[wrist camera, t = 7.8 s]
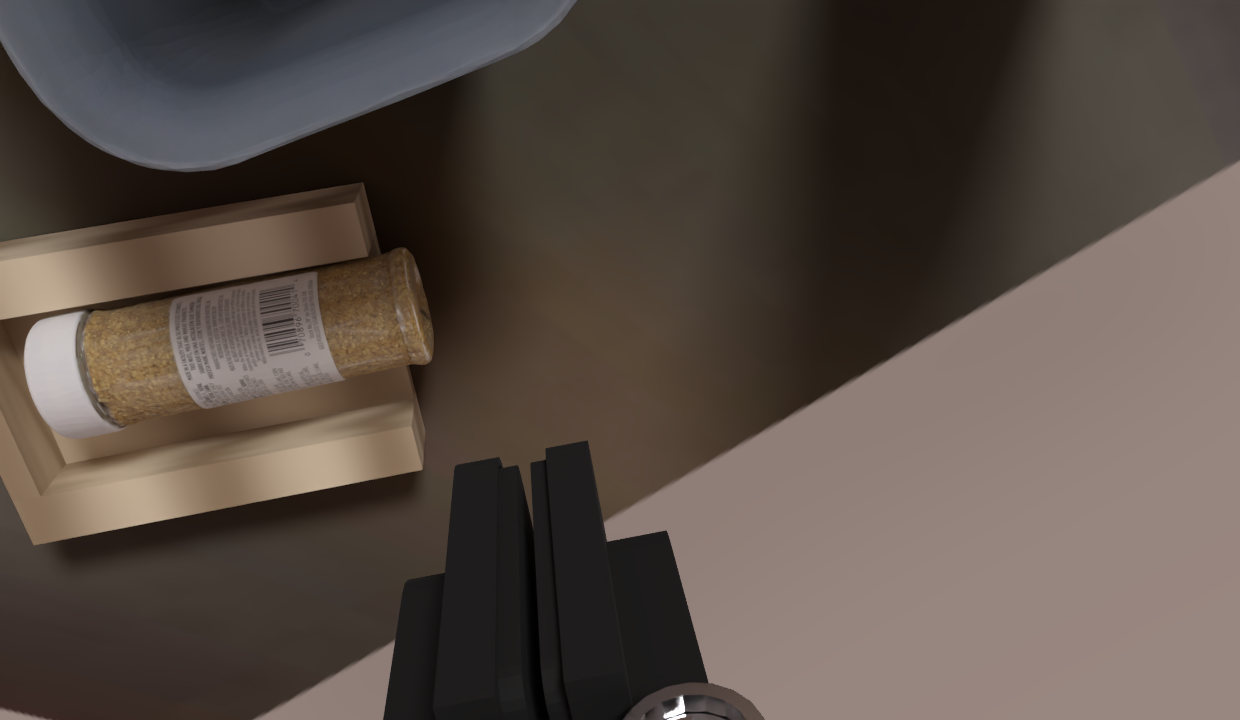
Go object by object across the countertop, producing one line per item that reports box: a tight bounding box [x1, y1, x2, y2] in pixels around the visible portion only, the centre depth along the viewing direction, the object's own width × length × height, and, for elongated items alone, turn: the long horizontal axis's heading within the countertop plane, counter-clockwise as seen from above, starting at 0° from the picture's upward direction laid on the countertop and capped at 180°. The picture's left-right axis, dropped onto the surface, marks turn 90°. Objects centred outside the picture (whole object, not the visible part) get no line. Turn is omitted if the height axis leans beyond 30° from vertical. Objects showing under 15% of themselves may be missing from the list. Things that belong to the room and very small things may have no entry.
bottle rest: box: [0, 182, 425, 545], centre depth 35 cm, size 15×11×3 cm
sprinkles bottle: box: [24, 247, 434, 439], centre depth 34 cm, size 5×5×14 cm
